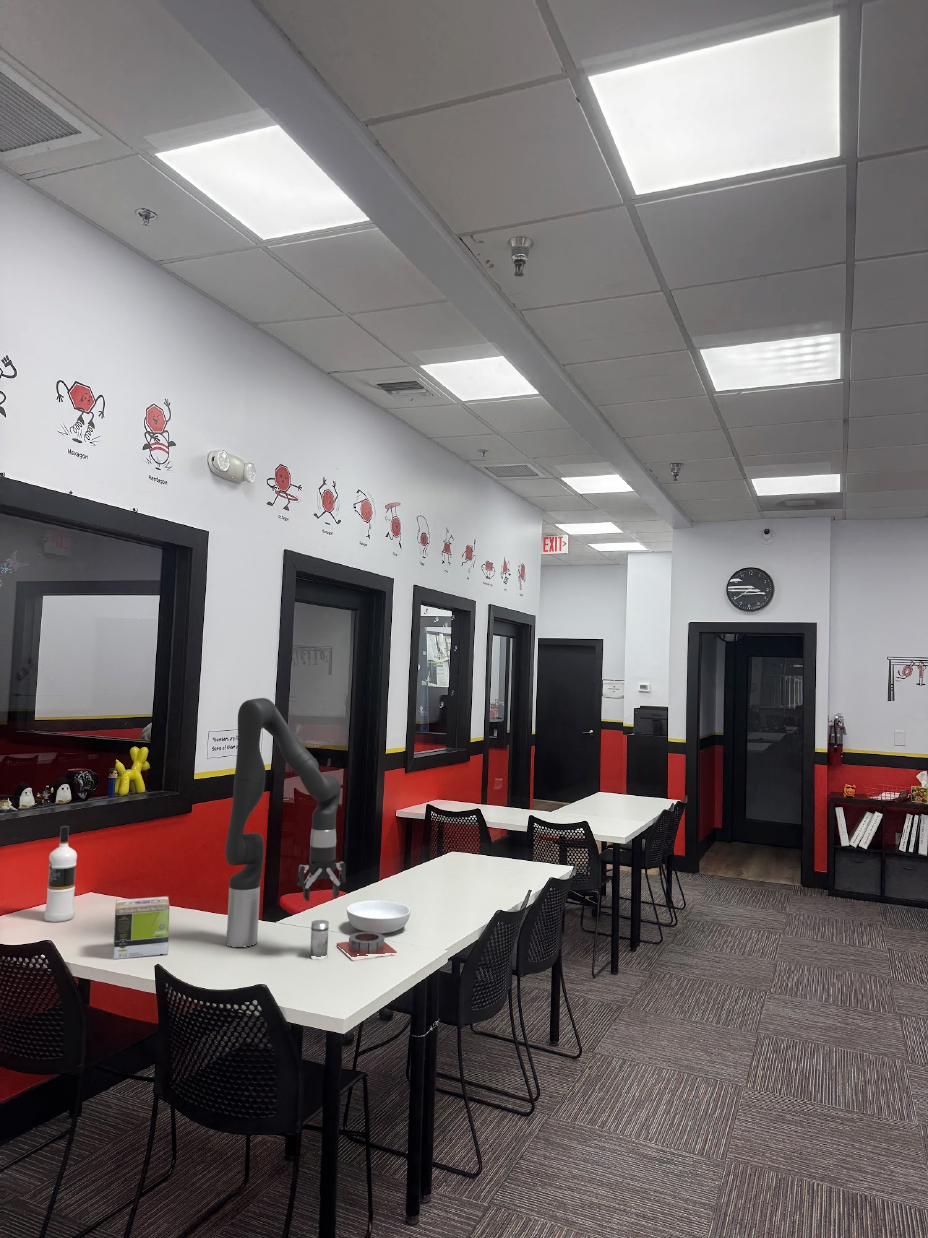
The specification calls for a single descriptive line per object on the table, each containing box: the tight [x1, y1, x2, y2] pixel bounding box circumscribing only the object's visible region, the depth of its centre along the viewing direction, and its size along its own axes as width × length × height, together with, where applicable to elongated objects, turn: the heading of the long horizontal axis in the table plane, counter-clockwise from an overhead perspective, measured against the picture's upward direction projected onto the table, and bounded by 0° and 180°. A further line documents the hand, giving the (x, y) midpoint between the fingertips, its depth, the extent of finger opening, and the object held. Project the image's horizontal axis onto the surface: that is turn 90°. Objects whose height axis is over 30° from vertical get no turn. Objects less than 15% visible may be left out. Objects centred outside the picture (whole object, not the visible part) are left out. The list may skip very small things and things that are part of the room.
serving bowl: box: [346, 899, 411, 935], centre depth 281 cm, size 21×21×7 cm
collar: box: [336, 931, 398, 957], centre depth 260 cm, size 14×14×4 cm
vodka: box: [43, 825, 78, 923], centre depth 282 cm, size 9×9×30 cm
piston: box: [309, 919, 330, 957], centre depth 253 cm, size 5×5×10 cm
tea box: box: [113, 895, 170, 960], centre depth 252 cm, size 15×10×15 cm, turn 111°
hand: (320, 899), depth 254 cm, fingers open, 8 cm apart
